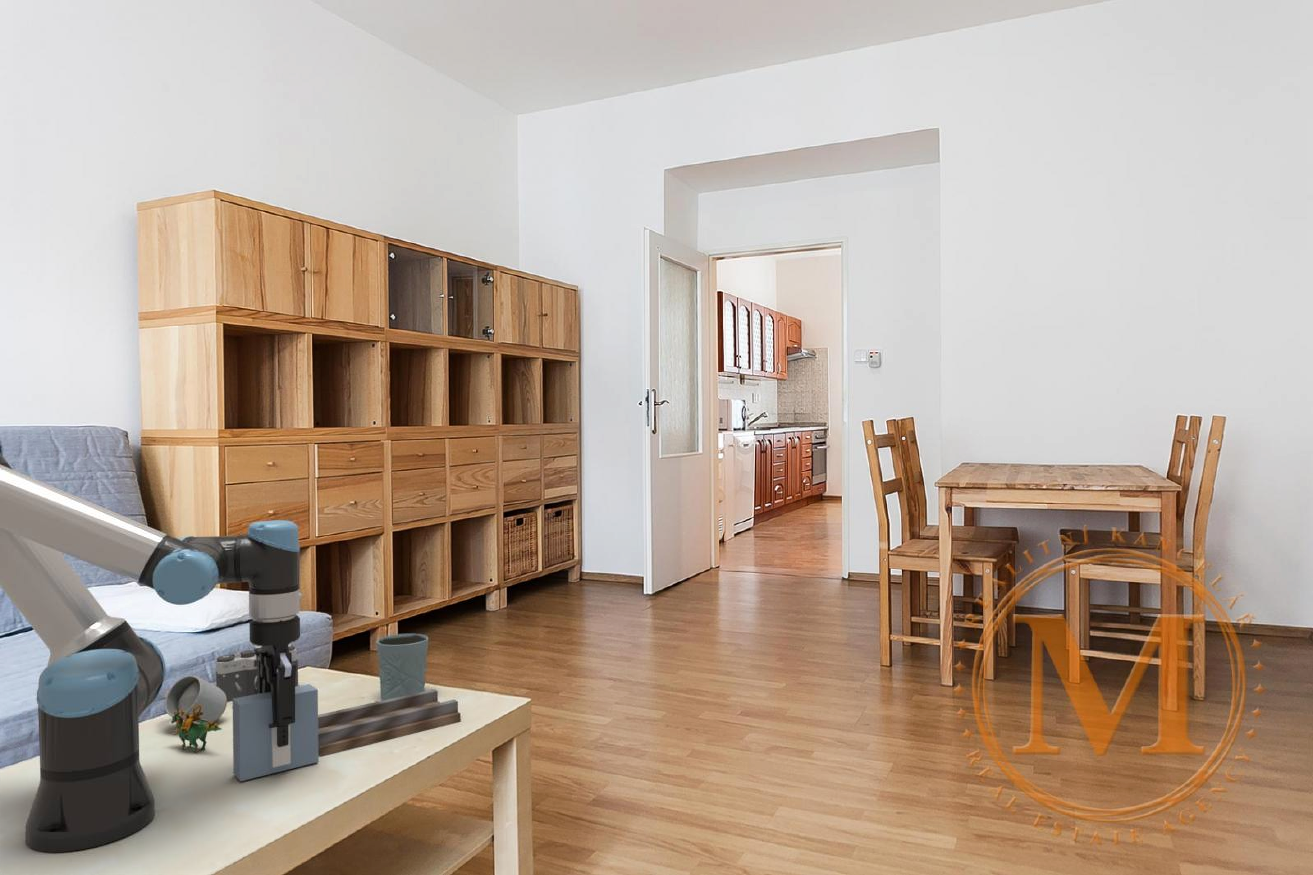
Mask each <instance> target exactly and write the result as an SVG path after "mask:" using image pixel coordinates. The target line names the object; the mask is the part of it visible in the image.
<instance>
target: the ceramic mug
mask: <svg viewBox="0 0 1313 875" xmlns="http://www.w3.org/2000/svg"><path fill="white" fill-rule="evenodd" d="M162 699H163V700H164V708H165V712H166V713H167V715H168V716H170V717H171V718H172V717H173V716H174V712H175V711H178V712H179V711H180V710H181V709H183V711H184V712H185V713H184V714H183V716H181V714H179V716H181V717H182V718H183V721H184V720H185V719H186V716H185V714H187V713H189V717H190V716H191V715H192V714H193V709H194V707H195V706H197V705H201V706H202V709H201V711H200V712H204V713H203V715H200V716H199V718H201V719H205V720H209V721H211V722H213V724H215V723H216V722H217V721H218V720H219V719H220V718H221V717H222V715H223V714H224V712H225V710H226V708H227V704H228V702H227V697H226V694H225V693H224V692H223V691H222V690H221V689H220V688H218V687H217V686H216V685H215V684H212V683H210V682H209V681H207V680H205V679H203V678H201V677H199V676H198V675H195V674H192V675H191V674H190V675H186V676H184V677H181V678H179V679H178V680H177V681H176V682H174V684H172V686H171V687H170V689H167V690H166V691H165V692H164V694H163V696H162ZM195 712H199V707H198V708H197V709H196V710H195ZM176 713H177V712H176ZM176 713H175V714H176ZM196 715H197V714H196ZM209 721H207V722H204V723H206V724H208V722H209ZM202 722H203V721H202Z"/></svg>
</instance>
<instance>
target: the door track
mask: <svg viewBox="0 0 1313 875" xmlns="http://www.w3.org/2000/svg"><path fill="white" fill-rule="evenodd" d="M438 692H439V691H438V690H437V689H434V688H433V689H430V690H425V691H424V692H419V693H415V694H410V695H406V696H401V697H396V698H392V699H387V700H383V701H382V700H380V701H374V702H370V703H366V704H360V705H356V706H353V707H352V706H351V707H348V708H343V709H338V710H334V711H329V712H325V713H320V714H318V757H324V756H328V755H332V754H336V753H341V752H343V751H347V750H352V749H355V748H360V747H364V746H368V745H372V744H375V743H380V742H383V741H387V740H392V739H396V738H400V737H403V736H408V735H411V734H414V733H415V734H416V733H419V732H423V731H427V730H430V729H435V728H439V727H443V726H447V725H451V724H455V723H459V722H461V717H462V716H461V712H459V703H458V702H459V701H457V699H452V700H445V701H441V702H440V701H439V700H438V697H439V696H438V695H439V694H438Z"/></svg>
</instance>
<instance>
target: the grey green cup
mask: <svg viewBox="0 0 1313 875" xmlns="http://www.w3.org/2000/svg"><path fill="white" fill-rule="evenodd" d="M375 644H376V651H377V652H376V653H377V663H378V674H379V684H380V685H379V686H380V687H379V688H380V689H379V690H380V701H383V700H387V699H392V698H396V697H401V696H406V695H410V694H415V693H419V692H424V691H426V690H425V686H426V670H427V657H428V647H429V637H428V635H425V634H421V633H397V634H391V635H386V636H383V637H380V638H378V639H376V643H375Z"/></svg>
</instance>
